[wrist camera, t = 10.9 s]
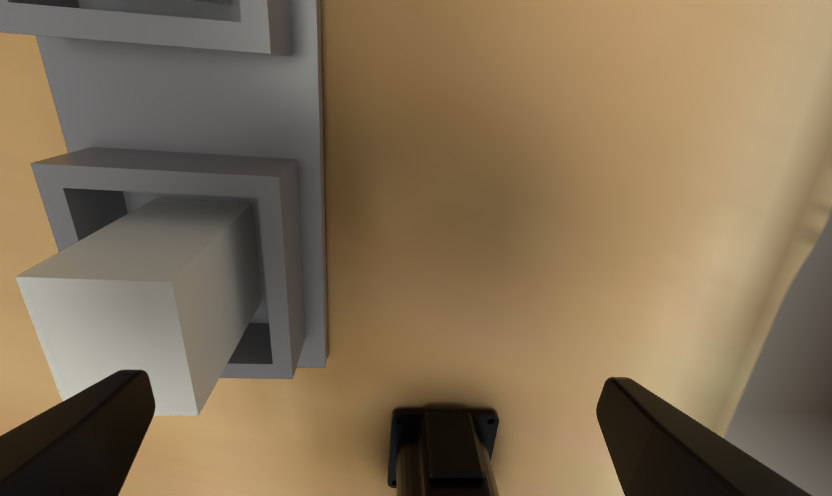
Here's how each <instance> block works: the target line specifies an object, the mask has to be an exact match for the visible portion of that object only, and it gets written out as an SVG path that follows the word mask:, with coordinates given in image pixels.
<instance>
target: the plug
mask: <svg viewBox="0 0 832 496" xmlns="http://www.w3.org/2000/svg"><path fill="white" fill-rule="evenodd" d="M190 1H199V2H208V3H216V4H225V5H232V2H231V0H190Z"/></svg>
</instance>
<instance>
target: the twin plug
mask: <svg viewBox="0 0 832 496" xmlns="http://www.w3.org/2000/svg"><path fill="white" fill-rule="evenodd" d="M16 280H17V283H18V285H19V288H20V291H21V293H22V296H23V299H24V301H25V304H26V306H27V309H28V312H29V314H30V317H31V320H32V322H33V325H34V327H35V330H36V333H37V335H38V338H39V341H40V343H41V346H42V349H43V351H44V354H45V356H46V359H47V362H48V364H49V367H50V370H51V372H52V375H53V378H54V380H55V383H56V385H57V388H58V391H59V393H60V396H61V399H62V401H65V400H66V399H68V398H70V397H72V396H74V395H75V394H77V393H79V392H81V391H83V390H84V389H86V388H88V387H90V386H92V385H93V384H95V383H97V382H99V381H101V380H103V379H104V378H106V377H108V376H110V375H112V374H113V373H115V372H117V371H119V370H124V369H131V370H144V371H146V372H147V373H148V376H149V379H150V383H151V387H152V391H153V395H154V399H155V412H154V416H199V414H200V412H201V410H202V408H203V407H204V405H205V403H206V401H207V399H208V397H209V396H210V394H211V392H212V390H213V388H214V387H215V385H216V383H217V381H218V379H219V377H220V376H221V374H222V372H223V370H224V368H225V367H226V365H227V363H228V361H229V359H230V357H231V356H232V354H233V352H234V350H235V348H236V346H237V345H238V343H239V341H240V339H241V337H242V336H243V334H244V332H245V330H246V328H247V326H248V325H249V323H250V321H251V319H252V317H253V316H254V314H255V312H256V310H257V308H258V306H259V305H260V303H261V296H260V286H259V276H258V266H257V256H256V246H255V236H254V226H253V216H252V205H251V203H231V202H211V201H191V200H171V199H153V200H152V201H150V202H148V203H146V204H144V205H143V206H141V207H139V208H137V209H136V210H134V211H132V212H130V213H128V214H127V215H125V216H123V217H121V218H119V219H118V220H116V221H114V222H112V223H111V224H109V225H107V226H105V227H103V228H102V229H100V230H98V231H96V232H94V233H93V234H91V235H89V236H87V237H86V238H84V239H82V240H80V241H78V242H77V243H75V244H73V245H71V246H69V247H68V248H66V249H64V250H62V251H61V252H59V253H57V254H55V255H53V256H52V257H50V258H48V259H46V260H45V261H43V262H41V263H39V264H37V265H36V266H34V267H32V268H30V269H28V270H27V271H25V272H23V273H21V274H20V275H18V276H16Z"/></svg>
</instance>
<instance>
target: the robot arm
mask: <svg viewBox="0 0 832 496" xmlns="http://www.w3.org/2000/svg"><path fill="white" fill-rule="evenodd" d="M154 412H155V399H154V395H153V391H152V387H151V383H150V379H149V376H148V373H147V372H146V371H144V370H131V369H124V370H119V371H117V372H115V373H113V374H112V375H110V376H108V377H106V378H104V379H103V380H101V381H99V382H97V383H95V384H93V385H92V386H90V387H88V388H86V389H84V390H83V391H81V392H79V393H77V394H75V395H74V396H72V397H70V398H68V399H66V400H65V401H63V402H61V403H59V404H57V405H56V406H54V407H52V408H50V409H48V410H47V411H45V412H43V413H41V414H39V415H38V416H36V417H34V418H32V419H30V420H29V421H27V422H25V423H23V424H21V425H19V426H18V427H16V428H14V429H12V430H10V431H9V432H7V433H5V434H3V435H1V436H0V496H118V495H119V493H120V491H121V488H122V486H123V484H124V482H125V480H126V477H127V475H128V473H129V470H130V468H131V466H132V464H133V461H134V459H135V457H136V455H137V452H138V450H139V448H140V445H141V443H142V441H143V439H144V436H145V434H146V432H147V430H148V427H149V425H150V423H151V420H152V418H153V416H154ZM596 414H597V419H598V422H599V425H600V428H601V430H602V433H603V436H604V439H605V442H606V445H607V447H608V450H609V453H610V456H611V459H612V462H613V464H614V467H615V470H616V473H617V476H618V478H619V481H620V484H621V486H622V489H623V492H624V494H625V496H812V495H811V494H809V493H807V492H806V491H804V490H803V489H801V488H800V487H798V486H796V485H795V484H793V483H792V482H790V481H789V480H787V479H786V478H784V477H782V476H781V475H779V474H778V473H776V472H775V471H773V470H772V469H770V468H769V467H767V466H765V465H764V464H762V463H761V462H759V461H758V460H756V459H754V458H753V457H751V456H750V455H748V454H747V453H745V452H744V451H742V450H740V449H739V448H737V447H736V446H734V445H733V444H731V443H730V442H728V441H727V440H725V439H724V438H722V437H720V436H719V435H717V434H716V433H714V432H713V431H711V430H710V429H708V428H706V427H705V426H703V425H702V424H700V423H699V422H697V421H696V420H694V419H692V418H691V417H689V416H688V415H686V414H685V413H683V412H682V411H680V410H678V409H677V408H675V407H674V406H672V405H671V404H669V403H668V402H666V401H664V400H663V399H661V398H660V397H658V396H657V395H655V394H654V393H652V392H650V391H649V390H647V389H646V388H644V387H643V386H641V385H640V384H638V383H636V382H635V381H633V380H632V379H630V378H626V377H610V378H608V379H607V380H606V381H605V384H604V387H603V390H602V392H601V395H600V398H599V401H598V404H597V409H596ZM399 418H401V419H399ZM490 418H491V419H490ZM498 424H499V418H498V415H497V413H496V412H495V411H493V410H426V409H399V410H396V411H394V412H393V413H392V419H391V434H390V450H389V465H388V485H389V486H390V487H392V488H397V496H499V493H498V489H497V485H496V482H495V478H494V474H493V470H492V466H491V462H490V461H491V456H492V452H493V447H494V442H495V438H496V433H497V428H498Z"/></svg>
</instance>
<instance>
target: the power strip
mask: <svg viewBox="0 0 832 496" xmlns="http://www.w3.org/2000/svg"><path fill="white" fill-rule="evenodd" d="M231 2H232V5H225V4H216V3H208V2H199V1H190V0H0V32H3V33H14V34H25V35H35V36H36V39H37V43H38V46H39V50H40V53H41V57H42V61H43V64H44V68H45V71H46V75H47V79H48V82H49V86H50V89H51V93H52V97H53V100H54V104H55V107H56V111H57V114H58V118H59V122H60V125H61V129H62V132H63V136H64V140H65V143H66V147H67V150H68V153H67V154H63V155H60V156H56V157H52V158H49V159H45V160H41V161H37V162H34V163H30V164H31V167H32V170H33V173H34V176H35V179H36V182H37V185H38V189H39V192H40V195H41V198H42V201H43V204H44V207H45V210H46V214H47V217H48V220H49V223H50V226H51V229H52V232H53V235H54V238H55V242H56V245H57V248H58V251H59V252H61V251H62V250H64V249H66V248H68V247H69V246H71V245H73V244H75V243H77V242H78V241H80V240H82V239H84V238H86V237H87V236H89V235H91V234H93V233H94V232H96V231H98V230H100V229H102V228H103V227H105V226H107V225H109V224H111V223H112V222H114V221H116V220H118V219H119V218H121V217H123V216H125V215H127V214H128V213H130V212H132V211H134V210H136V209H137V208H139V207H141V206H143V205H144V204H146V203H148V202H150V201H152V200H153V199H171V200H191V201H211V202H231V203H251V205H252V216H253V226H254V236H255V246H256V256H257V266H258V276H259V286H260V296H261V303H260V305H259V306H258V308H257V310H256V312H255V314H254V316H253V317H252V319H251V321H250V323H249V325H248V326H247V328H246V330H245V332H244V334H243V336H242V337H241V339H240V341H239V343H238V345H237V346H236V348H235V350H234V352H233V354H232V356H231V357H230V359H229V361H228V363H227V365H226V367H225V368H224V370H223V372H222V374H221V376H220V377H219V378H262V379H293V376H294V373H295V370H296V367H310V368H325V367H326V362H327V357H328V337H327V289H326V241H325V194H324V146H323V98H322V50H321V3H320V0H231Z"/></svg>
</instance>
